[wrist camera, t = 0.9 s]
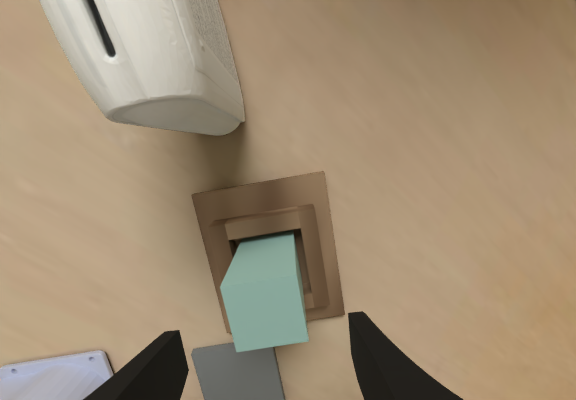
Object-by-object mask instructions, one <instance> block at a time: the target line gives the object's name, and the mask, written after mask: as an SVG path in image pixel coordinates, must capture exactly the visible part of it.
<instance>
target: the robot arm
mask: <svg viewBox="0 0 576 400" xmlns="http://www.w3.org/2000/svg"><path fill="white" fill-rule="evenodd" d="M348 318H349V331H350V344H351V355H352V359H353V363H354V368H355V372H356V376H357V380H358V383H359V386H360V389H361V391H362V394H363V397H364V400H463V399H462V398H460V397H459V396H457V395H456V394H454V393H453V392H451V391H450V390H448V389H447V388H446V387H444V386H443V385H441V384H440V383H439V382H438V381H436V380H435V379H434V378H432V377H431V376H430V375H428V374H427V373H426V372H425V371H424V370H422V369H421V368H420V367H419V366H418V365H416V364H415V363H414V362H413V361H412V360H411V359H410V358H408V357H407V356H406V355H405V354H404V353H403V352H402V351H401V350H400V349H399V348H398V347H397V346H396V345H395V344H393V343H392V342H391V341H390V340H389V339H388V338H387V337H386V336H385V335H384V334H383V333H382V331H381V330H380V329H379V328H378V327H377V326H376V325H375V324H374V323H373V322H372V321H371V319H370V318H369V317H368V316H367V315H366V314H365V313H364V312H363V311H362V312H353V313H348ZM93 357H94V358H93ZM188 371H189V369H188V365H187V361H186V356H185V352H184V348H183V344H182V340H181V336H180V331H179V330H175V331H166V332H164V333H163V334H161V335H160V336H159V337H158V338H156V339H155V340H154V341H153V342H152V343H151V344H149V345H148V346H147V347H146V348H145V349H144V350H142V351H141V352H140V353H139V354H138V355H137V356H136V357H134V358H133V359H132V360H131V361H130V362H129V363H127V364H126V365H125V366H124V367H123V368H122V369H120V370H119V371H118V372H117V373H115V374H114V375H113V372H112V369H111V367H110V364H109V362H108V359H107V356H106V354H105V352H103V351H92V352H86V353H79V354H73V355H67V356H60V357H54V358H48V359H41V360H35V361H29V362H22V363H16V364H9V365H4V366H3V367H1V368H0V378H1V380H0V400H180V398H181V395H182V392H183V389H184V385H185V382H186V378H187V375H188Z"/></svg>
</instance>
